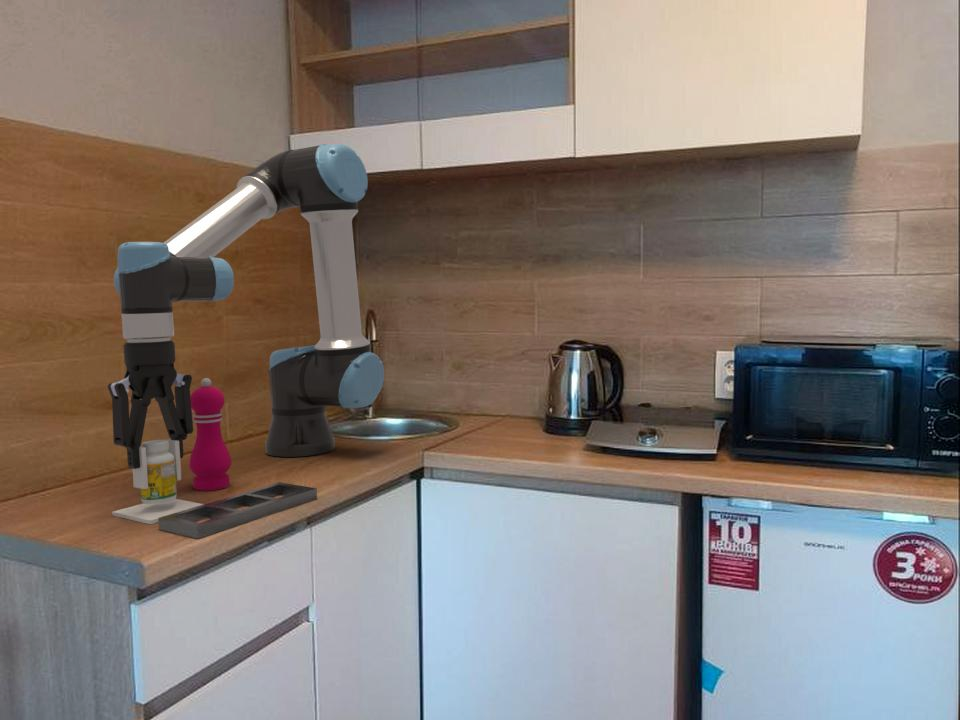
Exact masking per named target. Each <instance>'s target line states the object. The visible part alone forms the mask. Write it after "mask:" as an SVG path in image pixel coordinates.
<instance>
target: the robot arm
mask: <svg viewBox="0 0 960 720" xmlns="http://www.w3.org/2000/svg"><path fill="white" fill-rule="evenodd" d="M368 181H369V179H368V174H367V170H366V167H365V164H364V163H363V160H362V159H361V157H360V155H358V153H356V150H354V149H353V148H352V147H350V146H348V145H346V144H343V143H327V144H323V143H322V144H319V145H315V146H310V147H303V148H297V149H289V150H285V151H281V152H279V153H277V154H276V155H274V156H272V157H270V158H268V159H267V160H266V161H263V162H262V163H261V164H259V165H258V166H256V167H254V168H253V169H252V170H251V171H249V172H247V174H245V175H244V176H243V177H241V178H240V179H239V180H238V182H237V183H236V188H235V189H234V190H233V191H231V192H230V193H229V194H227V195H226V196H225V197H223V198H222V199H221V200H219V201H218V202H217V203H215V204H214V205H212V206H211V207H210V208H209V209H207V210H206V211H204V212H203V213H201V214H200V215H199V216H198V217H196V218H195V219H194V220H193V219H192V221H190V223H188V224H186V226H184V227H183V228H181V229H180V230H179V231H177V232H176V233H175V234H172V236H171V237H169V238H168V239H166V240H165V241H164V242H159V241H128V242H124V243H121V244H120V245H119V246H118V250H117V268H116V270H115V272H114V275H113V285H114V288H115V290H116V291H117V293H118V295H119V298H120V311H121V312H120V313H121V325H122V327H121V328H122V338H123V339H124V340H127V342H124V344H123V346H122V348H123V361H124V364H125V368H126V371H125V374H124V377H123V379H121V380H119V381H116V382H109V383H108V385H107V389H108V391H109V394H110V396H111V403H112V404H111V405H112V406H111V407H112V408H111V409H112V432H113V433H112V434H113V437H112V438H113V444H114V445H115V446H120V447H124V448H125V449H126V455H127V456H126V458H127V466H128V468H129V469H131V470H132V479H133V480H132V482H133V484H132V485H133V488H137V489H140V488H141V489H147V488H148V475H147V459H146V448H145V447H142V440H143V436H144V435H143V434H144V431H145V424H146V418H147V413H148V408H149V406H150V405H151V403H152V402H151V401H152V399H155V401H156V402H157V404H158V407H159V409H160V413H161V415H162V420H163V422H164V425H165V428H166V432H167V435H168V437H169V438H170V439H169V438H168V439H167V440H168V441H169V450H168V452H169V453H171V454H173V456H174V460H175V475H176V482H177V481H181V480H182V468H181V467H182V466H181V464H182V463H181V459H183V458H184V443H183V442H184V441H185V440H187V438H188V435H191V434H192V433H193V432H194V425H193V424H194V421H193V412H192V411H193V409H192V408H191V398H190V396H191V385H192V379H193V377H192V375H190V374H183V373H178V372H177V369H176V368H175V362H176V348H175V347H176V345H175V342H174V341H173V340H171V338H173V337H174V336H175V327H174V326H175V324H174V313H173V312H174V310H173V303H177V302H179V303H180V302H182V303H183V302H210V303H211V302H212V303H213V302H214V301H215V302H216V301H222V300H225V299H226V298H228V297H229V296H230V295H231V293H232V291H233V289H234V285H235V281H234V280H235V279H234V276H235V275H234V271H233V269H232V267H231V265H230V264H229V262H228V261H226V260H225V259H223V258H221V257H216V256H217V255H218V254H220V252H223V250H224V249H226V248H227V247H229V245H231V244H232V243H233V242H234V241H236V240H237V239H238V238H240V237H241V236H242V235H243V234H244V233H246V232H247V231H248V230H249V229H251V228H252V227H253V226H255V225H256V224H257V223H258V222H260V221H261V220H268V219H272V218H273V217H275V215H276V214H278V213H280V212H282V211H284V210H288V209H293V208H299V210H300V216H302V217H303V218H304V219H305V220H306V221H307V222H308V223H309V231H310V241H311V252H312V261H313V262H312V263H313V271H314V273H313V275H314V282H315V291H316V294H315V295H316V301H317V302H316V303H317V311H318V312H317V313H318V314H317V315H318V323H319V333H320V334H319V335H320V338H319V341H318V342H317V343H316V344H315V345H313V344H312V345H307V346H298V347H291V348H284V349H278V350H274V351H272V353H271V354H270V356H269V368H268V371H269V373H268V374H269V385H270V386H269V387H270V401H271V421H270V426H269V429H268V433H267V438H266V440H265V442H264V445H265V446H264V448H265V453H266V455H269V456H272V457H273V456H274V457H281V458H282V457H283V458H289V457H290V458H295V457H309V456H315V455H321V454H322V455H323V454H325V453H328V452H332V451H333V450H335V449H336V446H335V445H336V442H335V439H336V438H335V436H334V435H333V434H332V430H331V426H330V423H329V420H328V418H327V414H326V407H335V408H336V407H338V408H344V409H355V408H356V409H357V408H360V409H361V408H365V407H368V406H369V405H371V404H372V403H373V402H374V401H375V400H376V399H377V397H378V396H379V393H381V390H382V387H383V385H384V380H385V368H384V364H383V361H382V360H381V358H380V357H379V356H378V354H375V353H374V352H371V351H372V350H371V343H370V341H369V339H367V338H366V337H365V336H364V335H363V333H362V332H363V330H362V321H361V319H362V318H361V310H360V299H359V288H358V287H359V286H358V278H357V265H356V256H355V255H356V253H355V243H354V231H353V219H354V218H355V216H356V215H357V214H358V213H359V205H358V204H359V203H358V202H360V201H361V200H362V199H363V198H364V197H365V195H366V192H367V191H368V186H369V185H368V183H369V182H368ZM173 385H174V391H173V389H172V386H173ZM130 390H131V391H132V392H131V396H130V401H129V394H128V393H129V392H130ZM174 400H175V402H174ZM129 403H131V408H130V405H129Z"/></svg>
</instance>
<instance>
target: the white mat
mask: <svg viewBox="0 0 960 720" xmlns="http://www.w3.org/2000/svg"><path fill="white" fill-rule="evenodd" d="M200 505H204V503H199V502H194V501H188V500H185V499H180V498H179V499H178V498H176V499H174V500H173V501H170V502H166V503H161V504H145V503H143V502H142V503H140V504H136V505H135V504H134V505H133V506H129V507H125V508H121V509H117V510H114V511H112V512H111V514H112V516H114V517H117V518H122V519H126V520H131V521H134V522H138V523H143V524H147V525H153V524H156V523H159V522H158V518H159V517H163V516H166V515H170V514H173V513H177V512H180V511H183V510H187V509H190V508H194V507H197V506H200Z"/></svg>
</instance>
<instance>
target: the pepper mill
mask: <svg viewBox="0 0 960 720" xmlns="http://www.w3.org/2000/svg"><path fill="white" fill-rule="evenodd" d="M200 385H201V387H198V388H196V389H194V390H193V391H192V393H190V398H191V409H192V411H194V414H192V418H193V419H192V421H193V423H195V425H196V438H195V443H194V445H193V448H192V450H191V454H190V457H189V469H190V471H191V472H192V473H193V474H194V475H195V477H193V479H192V480H193V482H192V483H193V486H192V487H193V489H194V490H196V491H202V492H205V491H209V492H210V491H216V490H217V491H218V490H221V489H225V488H227V487H229V486H230V485H231V484H230V482H231V481H230V475H229V474H227V472H228V470H229V469H231V466H232V458H231V457H232V456H231V453H230V451H229V448H228V447H227V445H226V443H225V441H224V439H223V436H222V430H221V421H223V419H224V418H223V412H221V411H222V409H223V408H224V405H225V400H226V399H225V395H224V393H223V392H222V391H221V389H219V388H217V387H215V386H211V385H212V380H211V379H210V378H208V377H205V378H202V380H201V381H200Z"/></svg>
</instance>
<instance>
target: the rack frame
mask: <svg viewBox="0 0 960 720" xmlns="http://www.w3.org/2000/svg"><path fill="white" fill-rule="evenodd" d="M277 496H280V497H278V498H276V497H277ZM314 500H318V488H315V487H310V486H305V485H297V484H294V483H293V484H291V483H285V482H279V481H278V482H276V483H275V482H274V483H273V484H269V485H265V486H262V487H259V488H256V489H252V490H249V491H245V492H242V493H238V494H235V495H231V496H229V497H225V498H222V499H219V500H213V501H212V502H208V503H205V504H204V503H203V504H204V505H200V506H197V507H194V508H190V509H187V510H183V511H180V512H177V513H173V514H170V515H166V516H163V517H159V518H158V522H157V523H158V530H159V531H163V532H167V533H172V534H176V535H181V536H184V537H189V538H193V539H197V540H198V539H202V538H204V537H208V536H210V535H213V534H216V533H220V532H222V531H225V530H228V529H231V528H234V527H237V526H241V525H243V524H246V523H249V522H252V521H255V520H258V519H261V518H263V517H268V516H270V515H273V514H276V513H279V512H283V511H285V510H288V509H291V508H294V507H297V506H300V505H303V504H306V503H309V502H311V501H314ZM245 506H246V508H242V507H245ZM238 508H242V509H238ZM206 518H209V519H207V520H204V519H206ZM199 520H204V521H202V522H201V521H200V522H197V521H199Z"/></svg>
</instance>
